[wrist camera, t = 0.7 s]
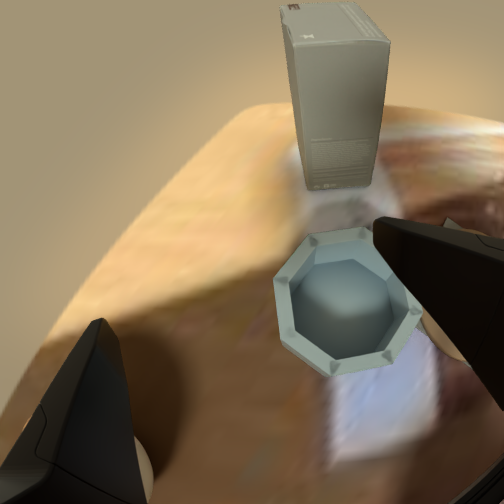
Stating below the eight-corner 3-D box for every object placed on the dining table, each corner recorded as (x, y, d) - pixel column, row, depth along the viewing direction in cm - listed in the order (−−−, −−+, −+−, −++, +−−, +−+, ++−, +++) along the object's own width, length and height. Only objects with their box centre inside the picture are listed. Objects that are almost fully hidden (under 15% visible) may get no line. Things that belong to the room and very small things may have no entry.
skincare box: (370, 188, 28) (407, 46, 14) (297, 194, 29) (290, 44, 14) (351, 127, 31) (365, -1, 17) (288, 131, 32) (276, -1, 18)
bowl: (419, 295, 24) (440, 279, 19) (354, 397, 21) (366, 401, 17) (326, 232, 27) (330, 205, 23) (254, 323, 25) (245, 312, 21)
